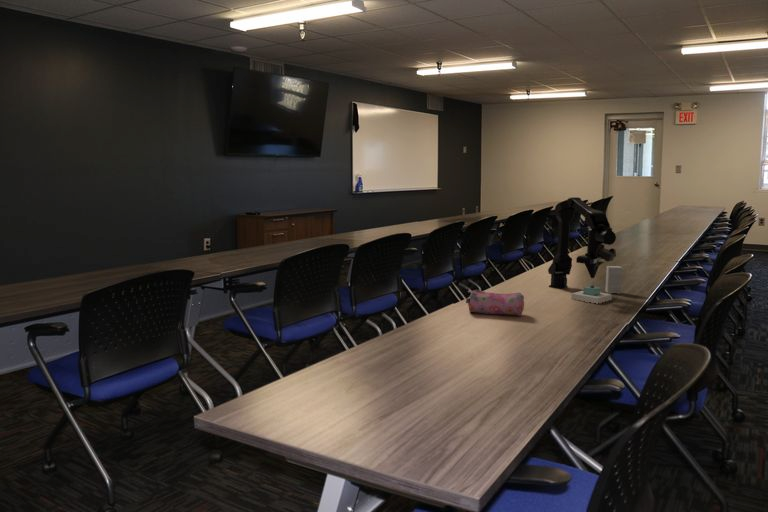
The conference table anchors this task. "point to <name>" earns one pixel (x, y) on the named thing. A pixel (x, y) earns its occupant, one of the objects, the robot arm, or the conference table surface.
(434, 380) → the conference table surface
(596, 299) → the socket plate
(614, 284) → the skincare box
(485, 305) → the pencil case
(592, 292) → the plug
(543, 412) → the conference table surface
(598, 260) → the robot arm
